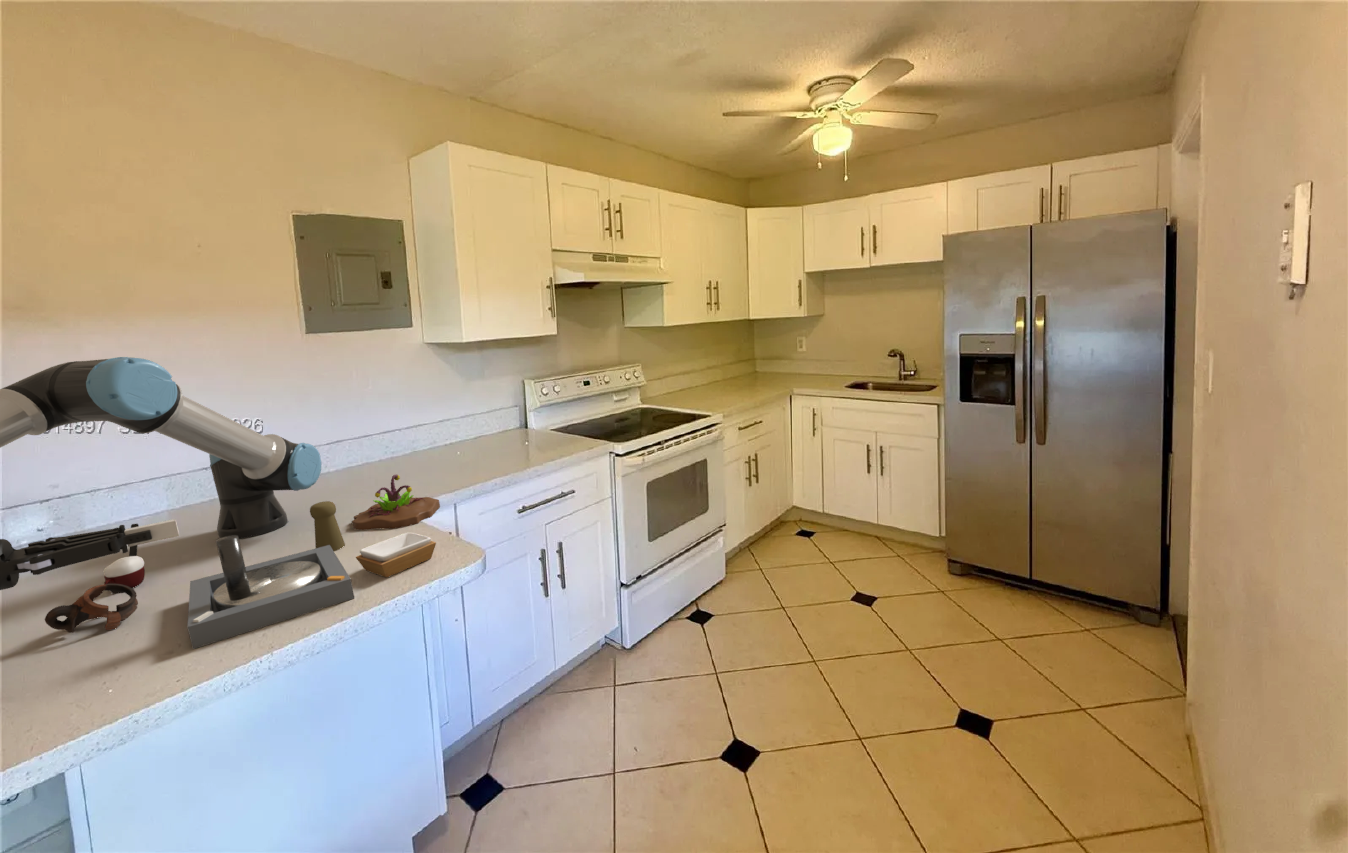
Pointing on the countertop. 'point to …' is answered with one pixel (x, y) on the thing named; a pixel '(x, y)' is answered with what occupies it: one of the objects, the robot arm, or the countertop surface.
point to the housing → (265, 599)
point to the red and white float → (126, 569)
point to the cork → (326, 525)
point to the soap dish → (396, 554)
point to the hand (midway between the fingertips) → (177, 527)
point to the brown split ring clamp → (93, 609)
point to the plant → (396, 509)
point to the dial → (257, 576)
